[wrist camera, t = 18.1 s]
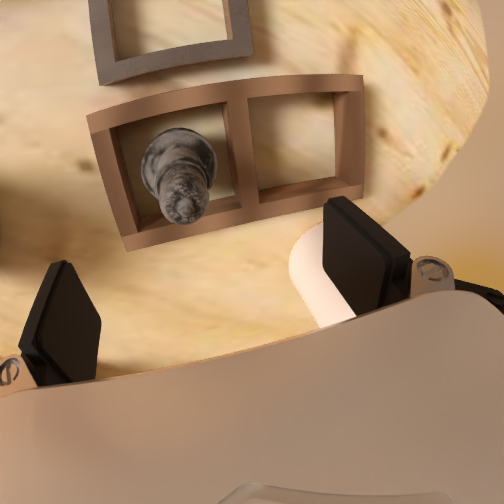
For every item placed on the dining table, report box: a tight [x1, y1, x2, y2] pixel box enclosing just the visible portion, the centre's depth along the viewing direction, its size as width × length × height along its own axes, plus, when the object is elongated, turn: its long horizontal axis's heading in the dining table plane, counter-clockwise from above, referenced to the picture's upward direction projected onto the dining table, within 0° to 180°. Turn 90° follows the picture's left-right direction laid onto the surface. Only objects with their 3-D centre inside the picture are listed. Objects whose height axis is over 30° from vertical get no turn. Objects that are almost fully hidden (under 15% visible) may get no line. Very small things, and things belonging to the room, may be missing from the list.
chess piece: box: [141, 128, 218, 225], centre depth 20 cm, size 6×6×12 cm
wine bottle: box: [289, 222, 356, 328], centre depth 22 cm, size 10×10×30 cm
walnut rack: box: [86, 74, 365, 252], centre depth 24 cm, size 22×12×3 cm, turn 96°
